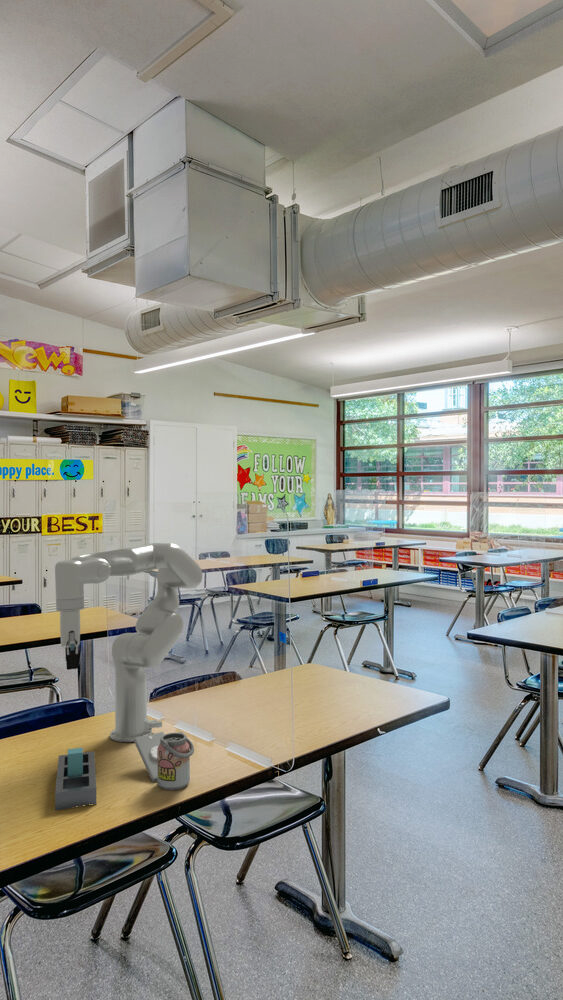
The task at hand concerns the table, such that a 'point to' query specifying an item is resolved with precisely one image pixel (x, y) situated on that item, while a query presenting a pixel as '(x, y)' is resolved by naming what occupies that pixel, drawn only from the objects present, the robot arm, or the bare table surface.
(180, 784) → the beverage can
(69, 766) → the square peg
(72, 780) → the hole rail
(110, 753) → the table surface
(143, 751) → the light switch
